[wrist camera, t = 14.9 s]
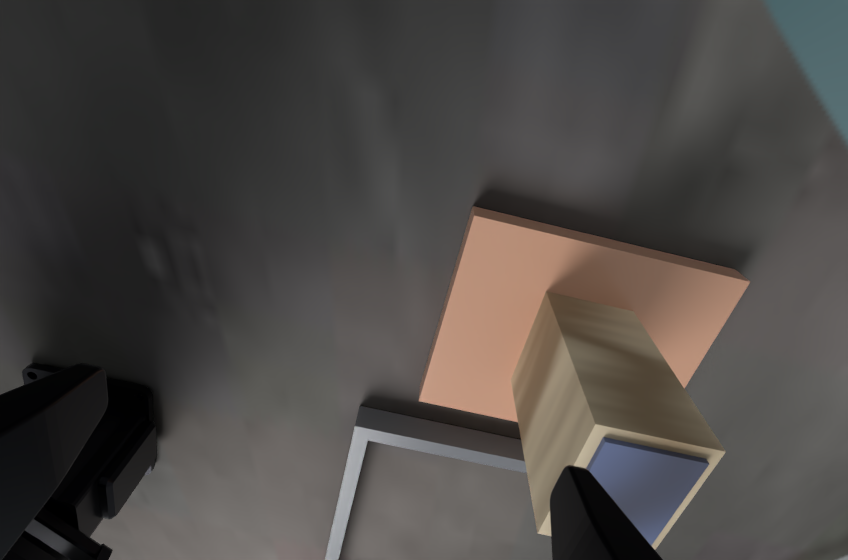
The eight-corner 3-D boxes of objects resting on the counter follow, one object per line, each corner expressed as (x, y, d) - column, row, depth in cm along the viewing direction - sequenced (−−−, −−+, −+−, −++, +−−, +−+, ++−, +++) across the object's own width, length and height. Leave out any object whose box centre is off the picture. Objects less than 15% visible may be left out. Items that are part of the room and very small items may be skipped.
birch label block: (510, 380, 23) (538, 538, 16) (545, 291, 21) (597, 429, 14) (589, 397, 24) (653, 561, 16) (633, 311, 21) (729, 457, 14)
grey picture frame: (321, 576, 33) (315, 599, 32) (359, 405, 26) (355, 426, 25) (540, 617, 34) (544, 641, 33) (634, 463, 27) (644, 486, 26)
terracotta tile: (419, 385, 25) (418, 401, 24) (472, 205, 21) (474, 215, 20) (638, 432, 26) (646, 449, 25) (735, 269, 21) (750, 281, 20)
